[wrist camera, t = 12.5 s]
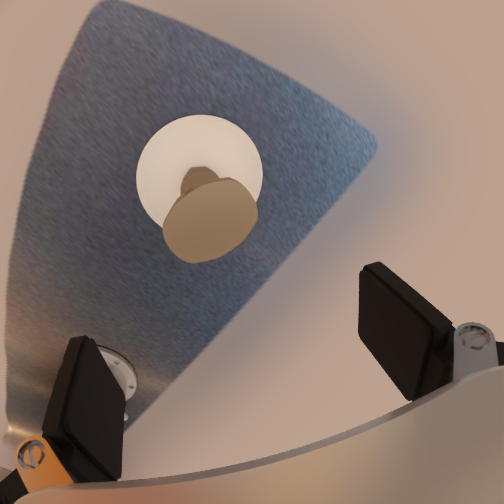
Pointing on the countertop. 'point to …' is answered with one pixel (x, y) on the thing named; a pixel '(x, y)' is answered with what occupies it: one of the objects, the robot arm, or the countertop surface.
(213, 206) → the handle
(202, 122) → the plate
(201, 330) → the countertop surface
